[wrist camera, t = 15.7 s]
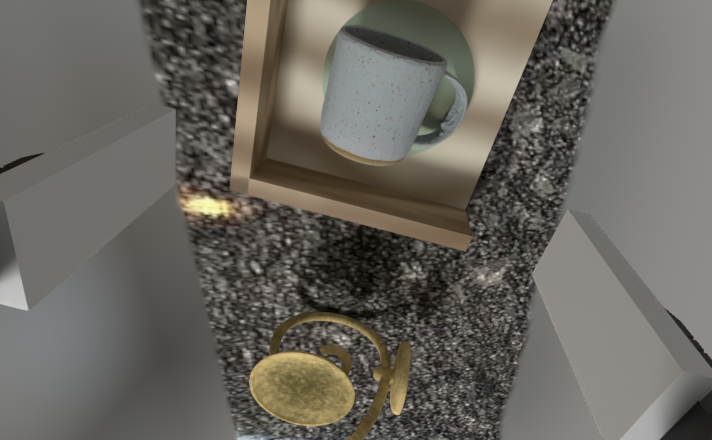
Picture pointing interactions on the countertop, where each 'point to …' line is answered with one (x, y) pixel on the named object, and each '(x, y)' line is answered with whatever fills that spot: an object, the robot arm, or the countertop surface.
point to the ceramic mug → (384, 96)
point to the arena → (421, 164)
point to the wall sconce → (325, 379)
